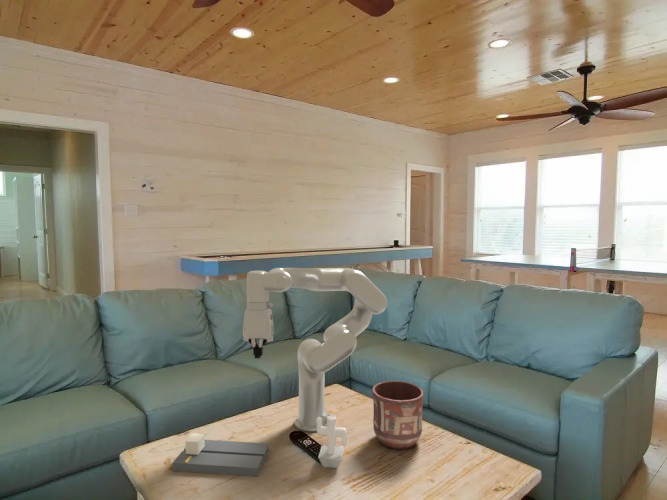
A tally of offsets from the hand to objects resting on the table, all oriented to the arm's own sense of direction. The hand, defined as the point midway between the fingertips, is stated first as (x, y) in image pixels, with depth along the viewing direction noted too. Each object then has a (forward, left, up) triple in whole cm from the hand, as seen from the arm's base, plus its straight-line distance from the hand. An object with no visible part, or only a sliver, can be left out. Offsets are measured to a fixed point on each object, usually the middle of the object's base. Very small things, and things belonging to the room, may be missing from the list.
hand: (258, 357), depth 148 cm
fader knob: (+15, +19, -25) cm, 35 cm away
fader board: (+6, +19, -27) cm, 34 cm away
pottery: (-49, +1, -27) cm, 56 cm away
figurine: (-28, +17, -27) cm, 43 cm away
